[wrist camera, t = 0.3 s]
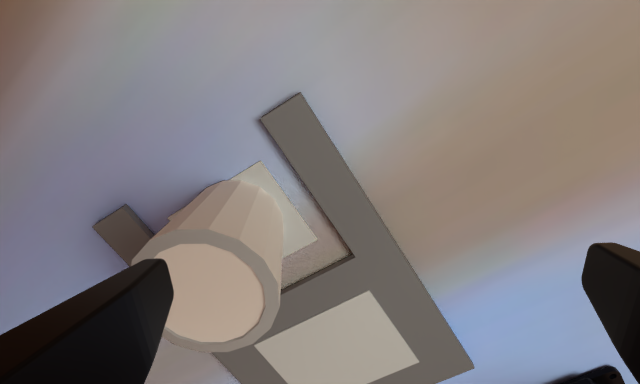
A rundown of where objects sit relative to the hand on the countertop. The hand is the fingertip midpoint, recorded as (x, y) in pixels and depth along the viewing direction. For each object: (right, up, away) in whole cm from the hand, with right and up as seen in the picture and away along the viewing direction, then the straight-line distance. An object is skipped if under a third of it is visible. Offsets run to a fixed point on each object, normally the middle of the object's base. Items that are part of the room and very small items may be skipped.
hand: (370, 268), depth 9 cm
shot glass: (-6, 0, +16) cm, 17 cm away
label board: (-3, -5, +18) cm, 19 cm away
